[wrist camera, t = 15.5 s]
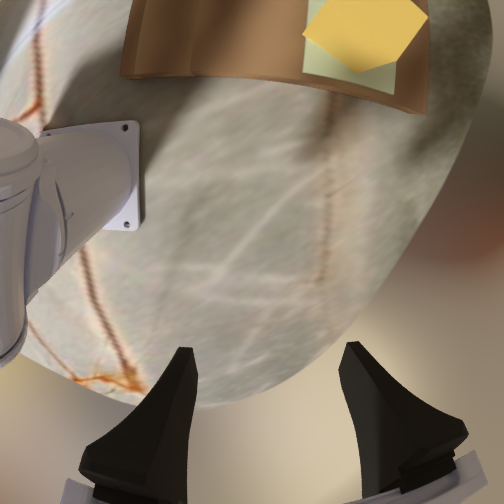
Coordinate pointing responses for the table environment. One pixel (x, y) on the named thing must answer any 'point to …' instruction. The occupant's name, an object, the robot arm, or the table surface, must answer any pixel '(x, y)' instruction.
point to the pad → (329, 66)
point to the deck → (253, 47)
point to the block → (365, 30)
